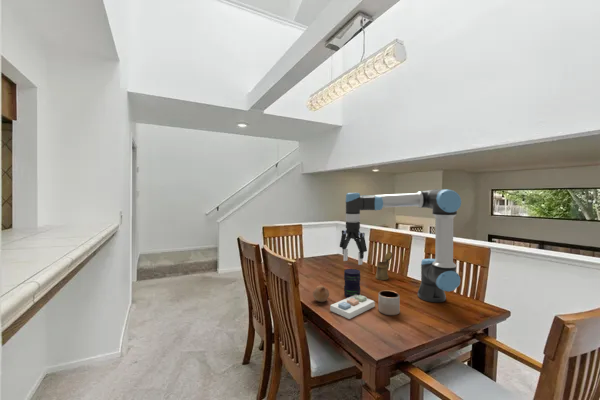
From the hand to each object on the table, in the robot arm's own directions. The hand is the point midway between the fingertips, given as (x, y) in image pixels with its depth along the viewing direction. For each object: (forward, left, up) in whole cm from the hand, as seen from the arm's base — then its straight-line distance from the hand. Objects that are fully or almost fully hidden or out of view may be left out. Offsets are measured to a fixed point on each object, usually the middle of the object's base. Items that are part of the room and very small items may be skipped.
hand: (352, 262), depth 153 cm
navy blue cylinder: (+12, -15, -26) cm, 32 cm away
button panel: (0, 0, -26) cm, 26 cm away
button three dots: (0, 0, -24) cm, 24 cm away
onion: (+19, +5, -26) cm, 33 cm away
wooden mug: (+17, -58, -26) cm, 65 cm away
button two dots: (0, -7, -24) cm, 25 cm away
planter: (-15, -12, -26) cm, 32 cm away
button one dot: (0, +7, -24) cm, 25 cm away
